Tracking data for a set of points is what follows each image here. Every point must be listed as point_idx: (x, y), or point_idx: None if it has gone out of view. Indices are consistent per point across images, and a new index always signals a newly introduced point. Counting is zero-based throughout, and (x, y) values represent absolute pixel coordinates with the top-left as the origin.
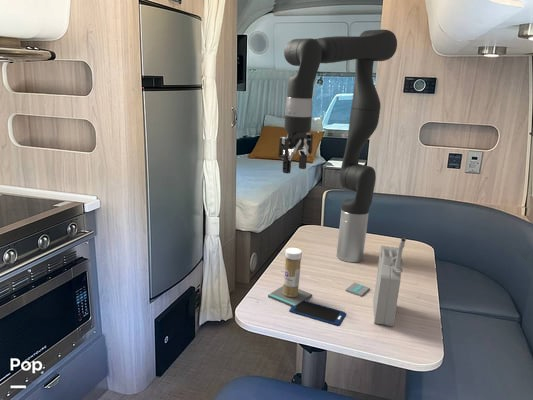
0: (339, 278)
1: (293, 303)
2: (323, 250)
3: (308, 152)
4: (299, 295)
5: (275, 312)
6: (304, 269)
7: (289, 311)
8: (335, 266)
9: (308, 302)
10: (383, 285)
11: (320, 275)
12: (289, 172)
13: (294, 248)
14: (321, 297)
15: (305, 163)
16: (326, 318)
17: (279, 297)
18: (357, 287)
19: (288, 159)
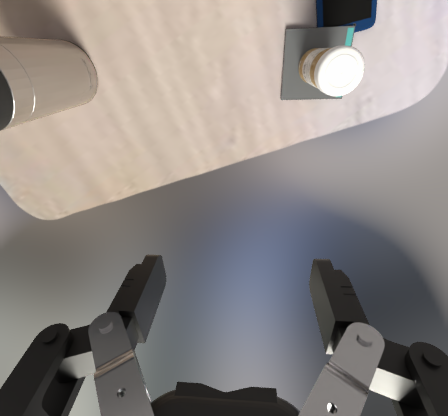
0: (173, 29)
1: (347, 34)
2: (94, 136)
3: (74, 340)
4: (308, 47)
5: (389, 46)
6: (195, 114)
7: (372, 25)
8: (132, 72)
9: (321, 12)
10: None
11: (192, 72)
12: (324, 260)
13: (327, 80)
14: (278, 6)
15: (147, 276)
16: None
17: None
18: None
19: (378, 335)
